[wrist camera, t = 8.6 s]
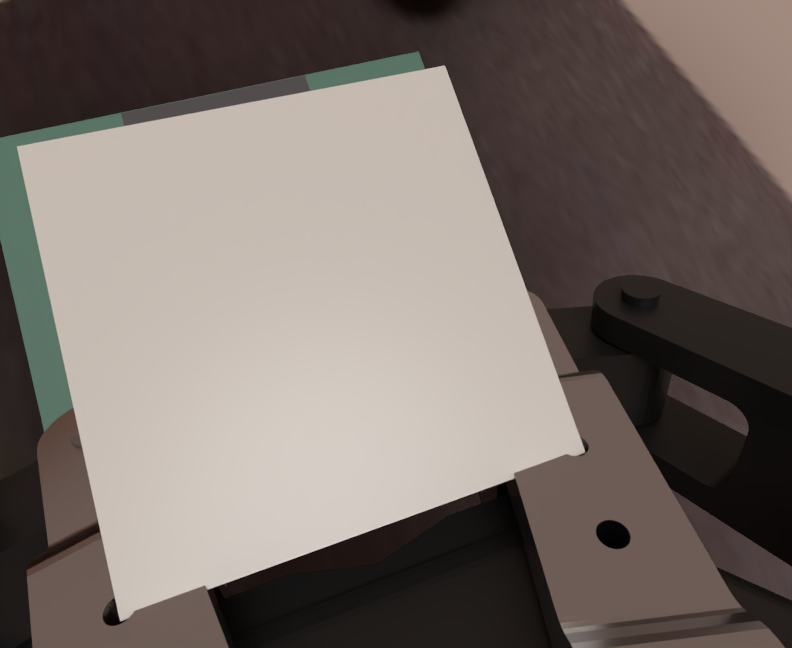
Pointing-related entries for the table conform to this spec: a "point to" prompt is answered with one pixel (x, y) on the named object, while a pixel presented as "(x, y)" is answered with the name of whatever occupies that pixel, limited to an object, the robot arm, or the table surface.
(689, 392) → the table surface
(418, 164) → the keyed plug
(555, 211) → the table surface
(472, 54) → the table surface
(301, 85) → the header board
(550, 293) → the table surface
